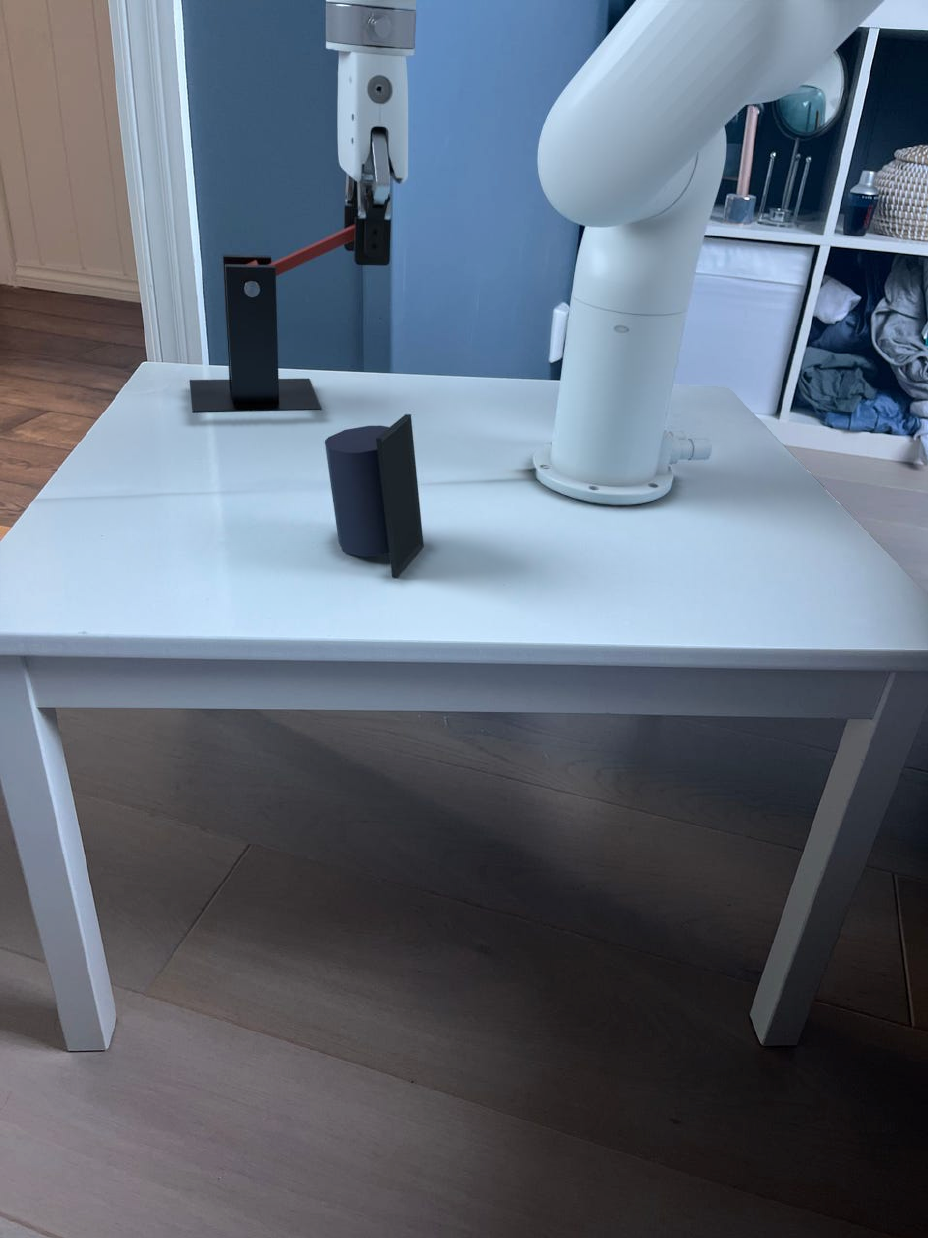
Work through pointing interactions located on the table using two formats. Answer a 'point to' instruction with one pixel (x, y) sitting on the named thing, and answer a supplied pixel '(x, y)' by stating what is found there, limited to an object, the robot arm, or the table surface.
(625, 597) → the table surface
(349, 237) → the lever
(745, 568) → the table surface
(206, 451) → the table surface
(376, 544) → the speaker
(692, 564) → the table surface
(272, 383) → the bracket
